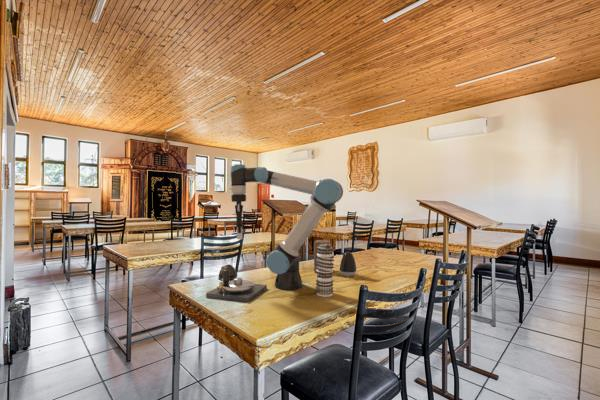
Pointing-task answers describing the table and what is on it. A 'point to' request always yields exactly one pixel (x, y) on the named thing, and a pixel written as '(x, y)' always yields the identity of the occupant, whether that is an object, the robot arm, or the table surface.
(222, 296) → the clock base
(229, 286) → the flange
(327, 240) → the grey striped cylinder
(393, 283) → the table surface
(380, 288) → the table surface
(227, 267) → the fossil
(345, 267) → the dark grey tapered dome
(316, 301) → the table surface
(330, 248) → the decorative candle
